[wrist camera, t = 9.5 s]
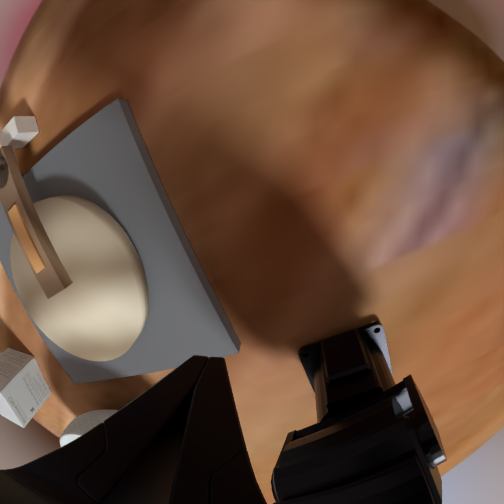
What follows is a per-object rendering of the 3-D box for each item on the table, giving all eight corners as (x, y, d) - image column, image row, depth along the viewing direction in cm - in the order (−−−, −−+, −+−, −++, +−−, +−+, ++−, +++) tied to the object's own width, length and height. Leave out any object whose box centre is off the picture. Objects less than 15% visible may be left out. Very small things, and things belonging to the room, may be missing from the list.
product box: (53, 393, 28) (24, 430, 21) (25, 381, 29) (-3, 413, 22) (34, 355, 26) (-1, 392, 19) (7, 345, 27) (-26, 376, 20)
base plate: (241, 343, 22) (236, 364, 19) (79, 377, 26) (68, 391, 23) (109, 53, 15) (89, 45, 13) (-20, 179, 19) (-37, 184, 17)
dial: (183, 327, 20) (143, 404, 13) (76, 362, 23) (34, 414, 16) (66, 100, 15) (-16, 94, 8) (-15, 194, 18) (-75, 215, 11)
